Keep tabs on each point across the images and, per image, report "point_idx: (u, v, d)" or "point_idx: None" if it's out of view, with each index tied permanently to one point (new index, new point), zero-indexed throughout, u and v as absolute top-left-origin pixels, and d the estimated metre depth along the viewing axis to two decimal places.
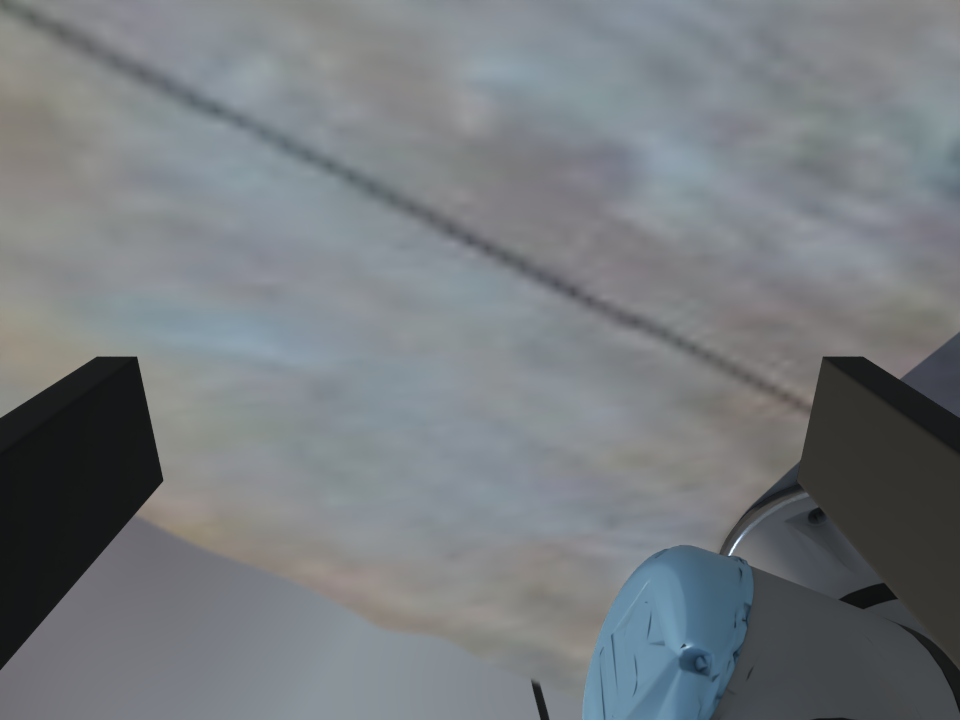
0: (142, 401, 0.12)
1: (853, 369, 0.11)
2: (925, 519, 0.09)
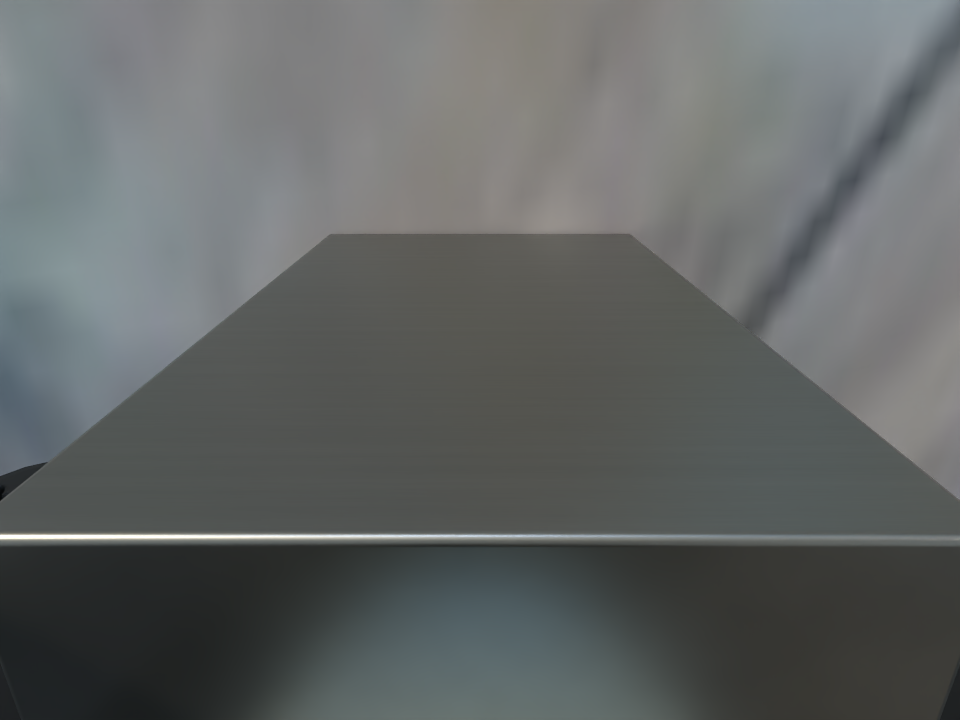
0: None
1: None
2: None
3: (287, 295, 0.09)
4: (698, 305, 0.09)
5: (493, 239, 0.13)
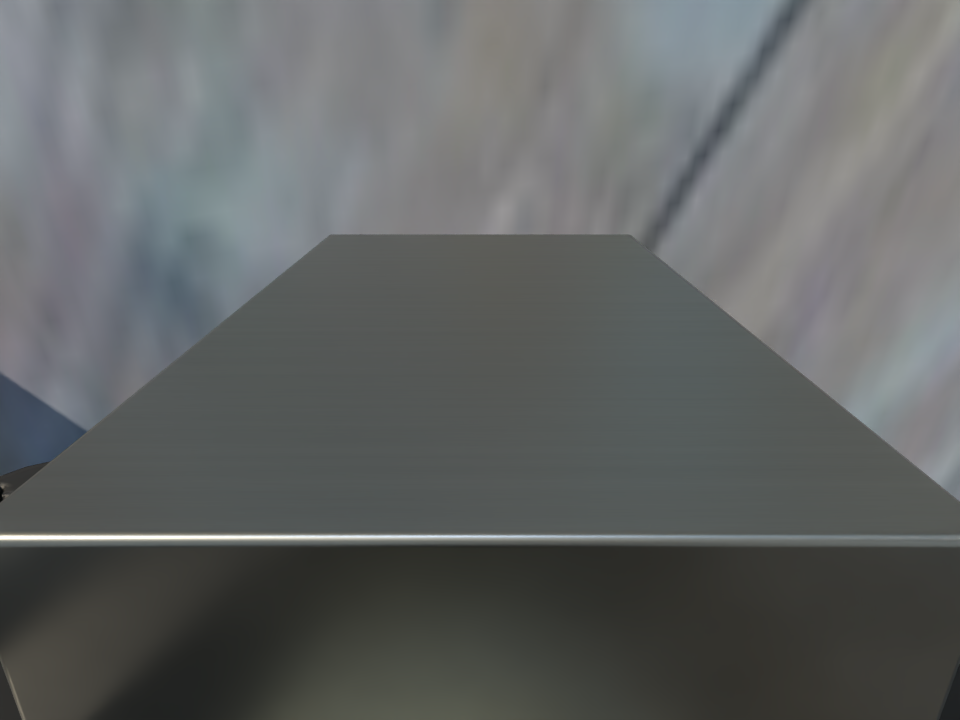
0: None
1: None
2: None
3: (287, 295, 0.09)
4: (698, 306, 0.09)
5: (493, 239, 0.13)
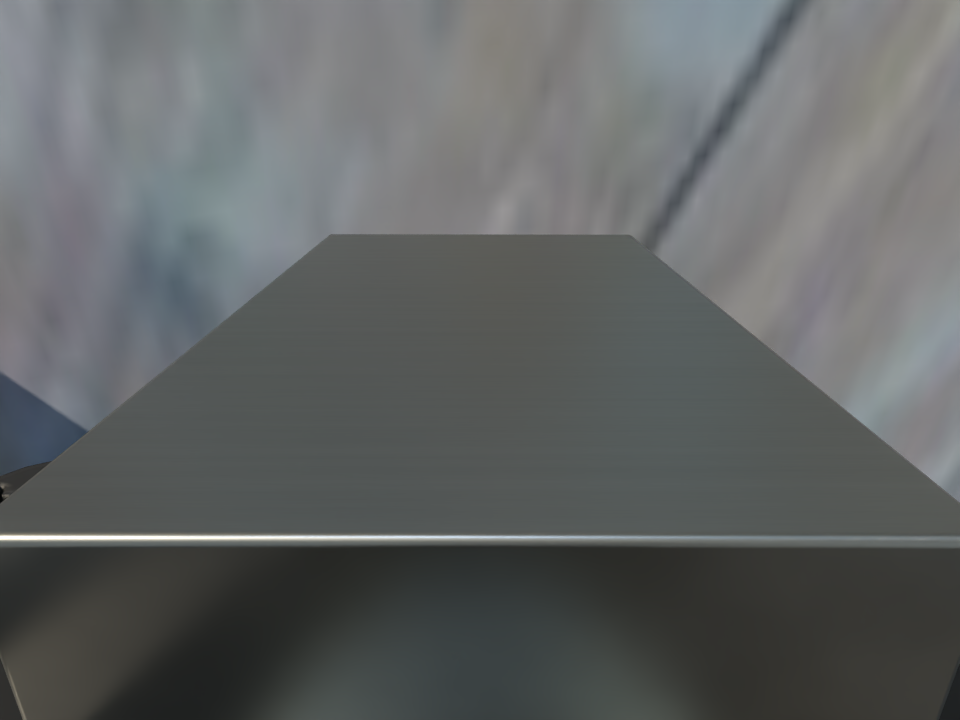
0: None
1: None
2: None
3: (288, 295, 0.09)
4: (698, 306, 0.09)
5: (493, 239, 0.13)
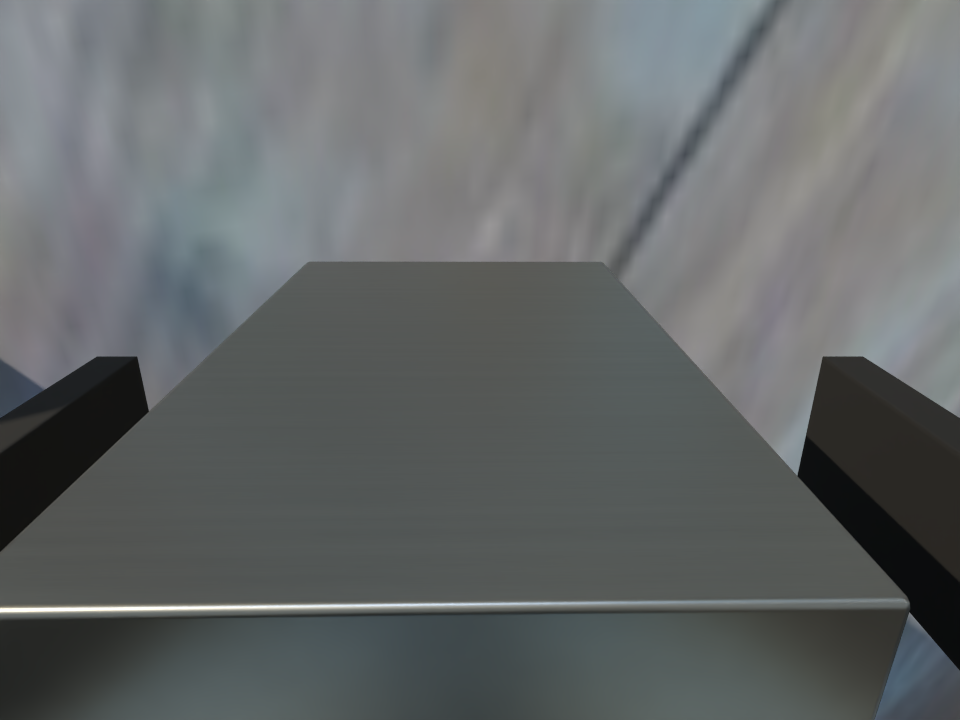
0: (142, 401, 0.12)
1: (853, 369, 0.11)
2: (925, 519, 0.09)
3: (263, 334, 0.09)
4: (659, 346, 0.09)
5: (468, 268, 0.14)
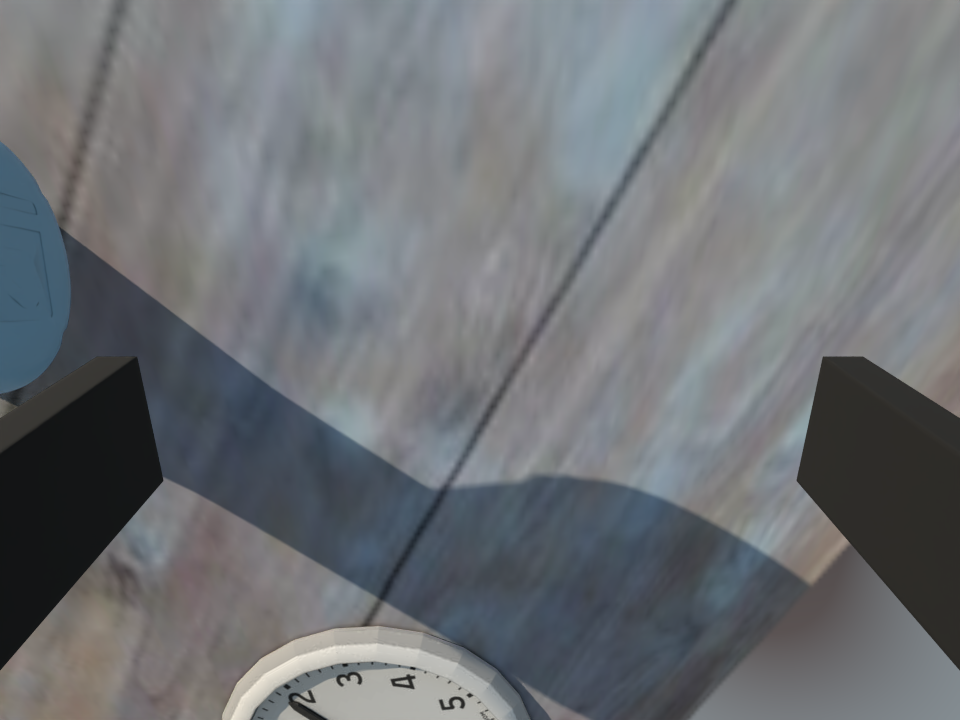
0: (141, 401, 0.12)
1: (853, 369, 0.11)
2: (925, 519, 0.09)
3: None
4: None
5: None
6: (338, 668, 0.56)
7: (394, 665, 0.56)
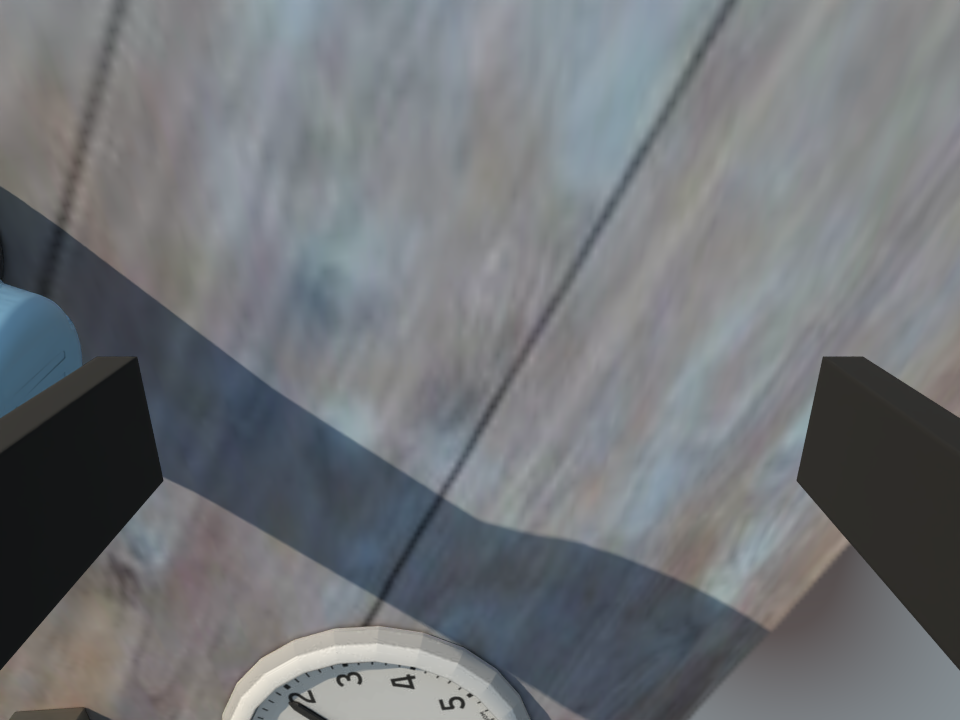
0: (141, 401, 0.12)
1: (853, 369, 0.11)
2: (925, 519, 0.09)
3: None
4: None
5: None
6: (338, 668, 0.56)
7: (394, 665, 0.56)
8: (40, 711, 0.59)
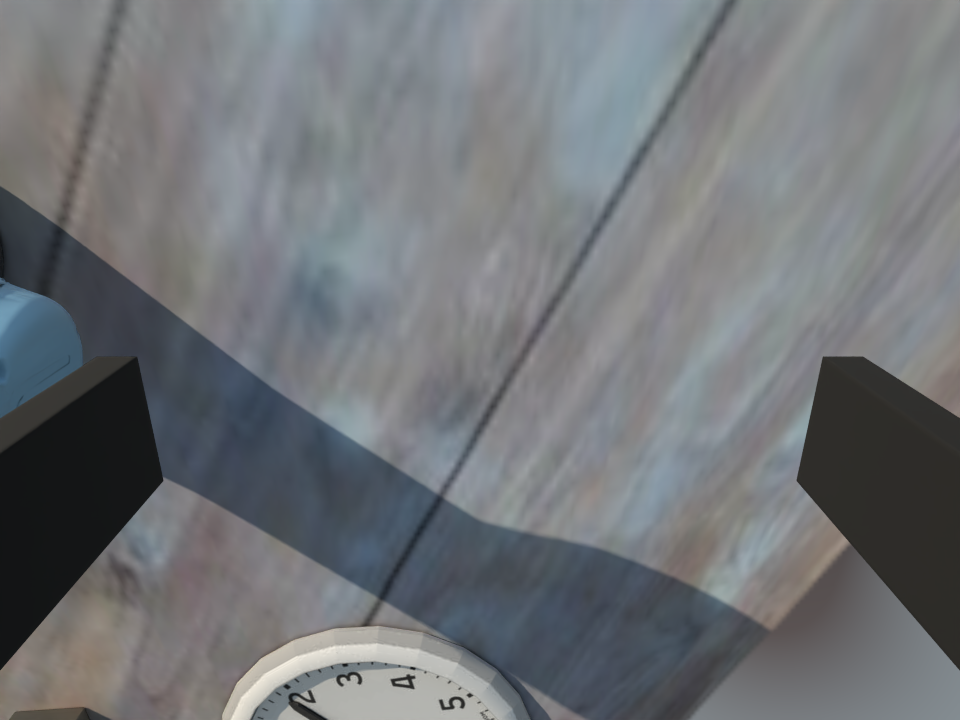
0: (141, 401, 0.12)
1: (853, 369, 0.11)
2: (925, 519, 0.09)
3: None
4: None
5: None
6: (338, 668, 0.56)
7: (394, 665, 0.56)
8: (40, 711, 0.59)
